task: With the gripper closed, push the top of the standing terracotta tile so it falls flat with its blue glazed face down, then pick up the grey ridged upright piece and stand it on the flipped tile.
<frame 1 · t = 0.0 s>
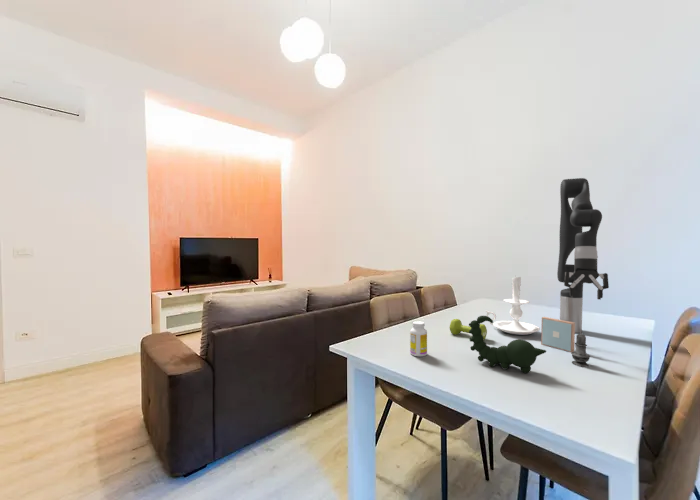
hand: (585, 298, 129), 22 cm above the table, tool pointing down, fingers open, 8 cm apart
candlestick: (511, 331, 161), on the table
supplement bottle: (418, 354, 130), on the table
grey ridged upright piece: (580, 364, 119), on the table
dumbbell: (467, 337, 152), on the table
toy figurine: (504, 368, 116), on the table
terracotta tile: (557, 347, 137), on the table
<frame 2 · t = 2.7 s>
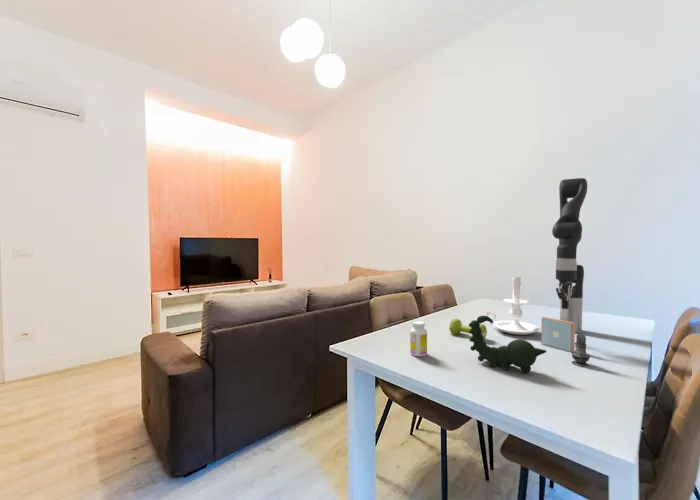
hand: (565, 308, 140), 16 cm above the table, tool pointing down, fingers closed
nothing on the table moved.
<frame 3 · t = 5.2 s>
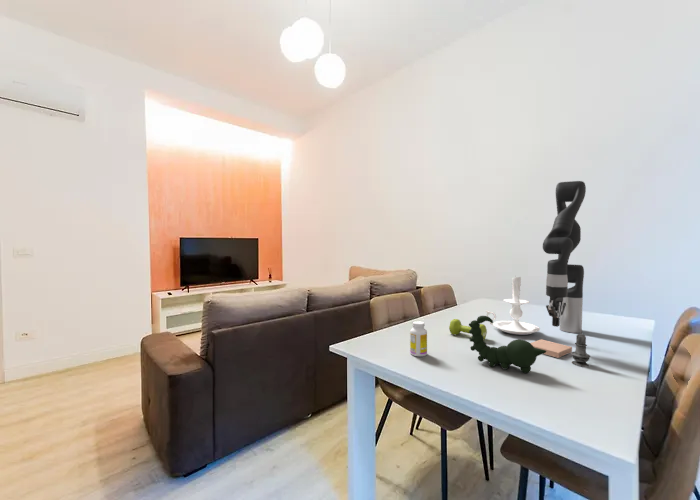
hand: (555, 326, 135), 10 cm above the table, tool pointing down, fingers closed
terracotta tile: (555, 345, 136), point 1 cm above the table, tilted 90°
everything else where it was.
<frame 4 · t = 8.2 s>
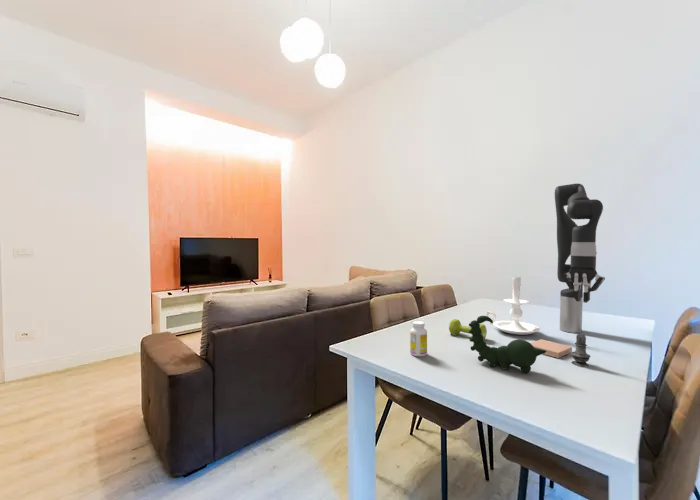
hand: (582, 301, 118), 23 cm above the table, tool pointing down, fingers closed
nothing on the table moved.
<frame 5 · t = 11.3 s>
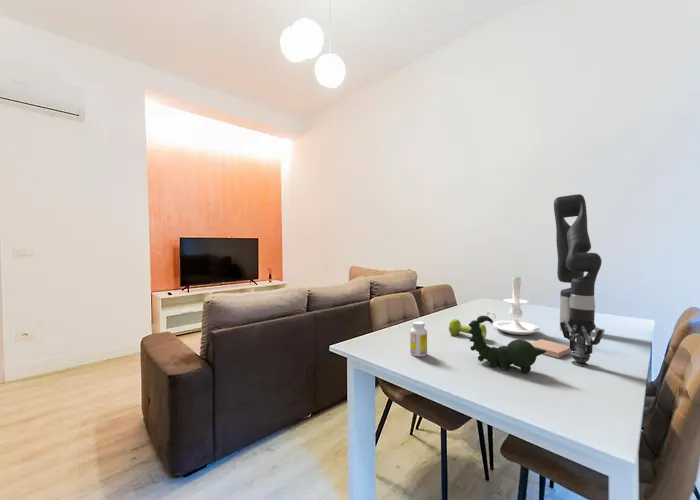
hand: (580, 352, 119), 4 cm above the table, tool pointing down, fingers closed on grey ridged upright piece, 4 cm apart
grey ridged upright piece: (580, 364, 119), on the table, touching gripper
everything else where it was.
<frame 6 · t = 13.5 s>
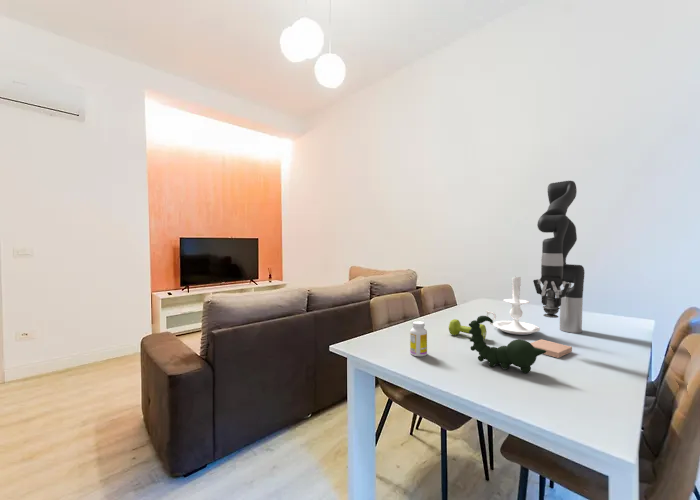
hand: (551, 305, 132), 19 cm above the table, tool pointing down, fingers closed on grey ridged upright piece, 4 cm apart
grey ridged upright piece: (550, 316, 132), point 14 cm above the table, touching gripper
everything else where it was.
when the fingers open (8 cm above the table, at t = 16.0 s): grey ridged upright piece drops 1 cm, resting on terracotta tile.
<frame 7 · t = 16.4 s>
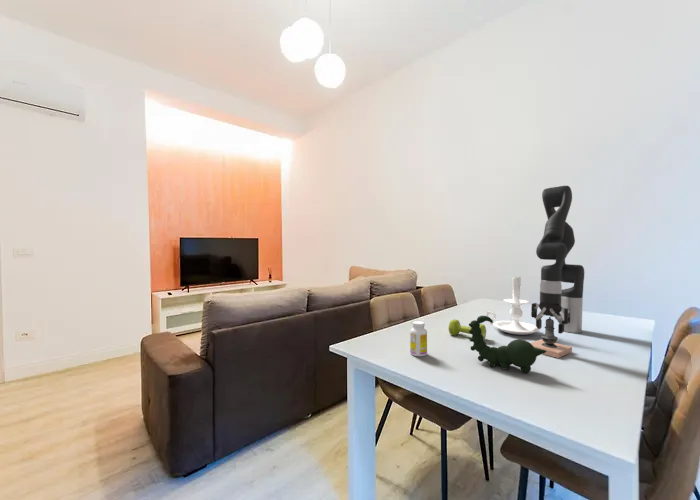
hand: (549, 330, 132), 8 cm above the table, tool pointing down, fingers open, 7 cm apart
grey ridged upright piece: (549, 346, 133), point 2 cm above the table, touching terracotta tile
terracotta tile: (555, 345, 136), point 1 cm above the table, tilted 90°, touching grey ridged upright piece
everything else where it was.
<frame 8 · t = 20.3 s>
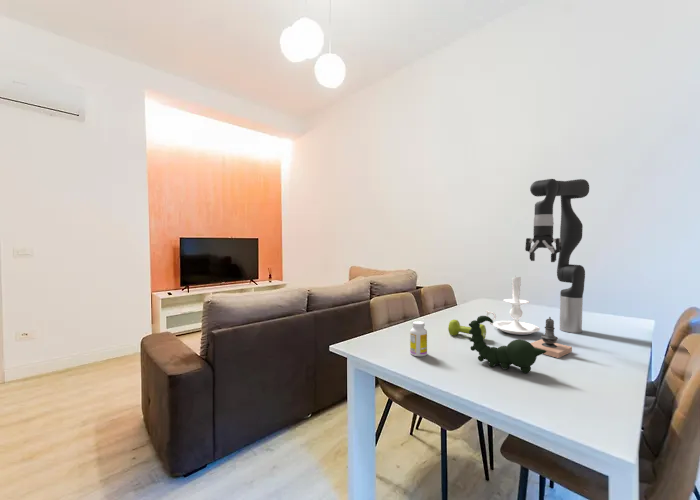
hand: (542, 261, 144), 36 cm above the table, tool pointing down, fingers open, 8 cm apart
at the end: terracotta tile tilted 90°; grey ridged upright piece touching terracotta tile; grey ridged upright piece tilted 0° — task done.
